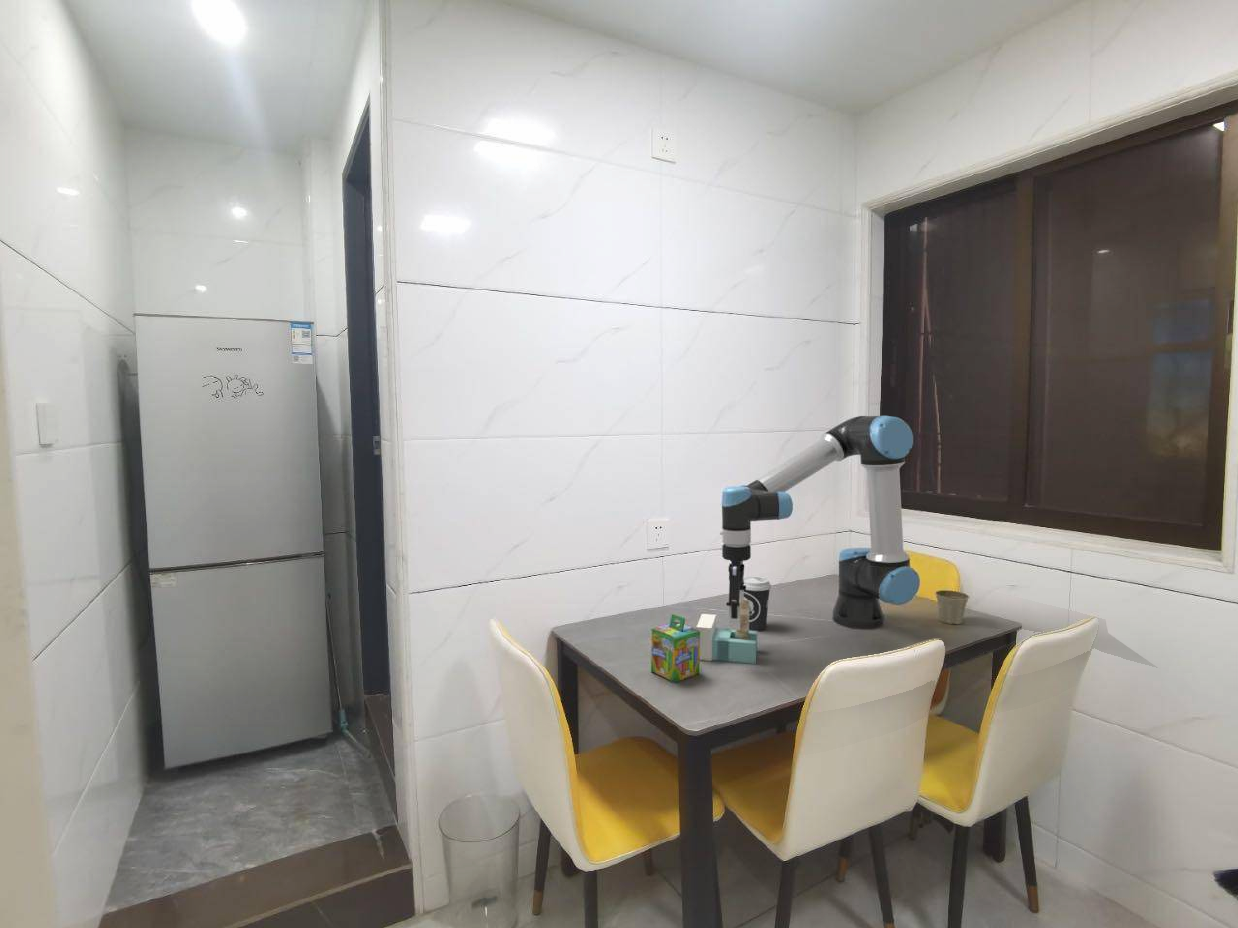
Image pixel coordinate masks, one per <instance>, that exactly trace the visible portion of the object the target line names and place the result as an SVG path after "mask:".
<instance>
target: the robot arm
mask: <svg viewBox="0 0 1238 928" xmlns="http://www.w3.org/2000/svg"><path fill="white" fill-rule="evenodd" d="M913 445H914V434H913V432H912V429H911V426H910V425H909V424H908V423H907V422H905V420H903V419H901V418H900V417H897V416H889V415H857V416H853V417H851V418H849V419H847V420H845V421H843V422H841V423H839V424H838V425H836V426H834V427H832V428H830V429H829V430H828V431H825V432H824V433H822V435H821V436H820V440H818V441H817V442H815V443H813V444H812V445H810V446H808V447H807V448H805V449H803V450H802V451H800V452H798V453H796V455H794V456H793V457H791V458H788V460H786V461H785V462H783V463H781V464H779V465H778V466H777V467H775V468H773V469H772V470H770V471H768V472H767V473H766V474H763V475H762V476H760V477H759V478H757V479H755V480H754V481H752V482H751V483H749V484H747V485H736V486H734V485H733V486H726V487H724V488H723V490H722V492H721V493H722V494H721V520H722V522H721V524H722V525H721V527H722V529H721V530H722V531H720V533H719V535H720V536H722V537H721V541H722V543H723V544H722V545H721V546H722V547H721V548H722V549H721V551H722V552H721V554H722V555H721V556H722V558H723V559H724V560H726V561H730V562H731V563H729V566H728V581H729V584H728V585H729V587H728V588H729V591H728V602H725V603H726V606H727V607H728V608H729V610H728V613H729V614H728V618H729V619H728V621H729V624H728V625H729V626H728V627H729V628H728V629H729V630H740V603H739V600H744V590H741V589H746V585H744V575H745V564H744V563H743V562H745V561H748V560H750V559H751V557H752V556H751V555H752V553H751V550H752V548H751V547H752V546H751V542H752V541H751V540H752V539H751V538H752V536H751V535H752V534H751V530H752V528H751V525H752V524H751V523H752V522H759V521H761V522H762V521H774V520H775V521H776V520H777V521H779V520H784V519H789V518H790V517H791V516H792V514H793V512H794V511H793V510H794V503H793V500H792V497H791V495H790V494H789V493H788V492H787V491H789V490H790V489H792V488H794V487H795V486H797V485H798V484H800V483H802V482H803V481H804V480H807V479H808V478H810V477H811V476H813V475H814V474H816V473H817V472H818V473H819V472H820V471H821V470H822V469H824V468H826V467H827V466H829V465H830V464H832V463H834V462H841V461H843V460H845V459H847V458H849V457H852V456H859V457H860V465H861V466H862V467H863V468H864V469H865V470H866V475H867V476H866V477H867V479H866V480H867V494H868V495H867V497H868V515H869V518H868V519H869V532H870V535H869V536H870V547H853V548H852V547H850V548H844V549H842V550H841V551H840V552H839V555H838V556H839V557H838V595H837V598H836V601H835V604H834V606H833V609H832V615H831V616H832V621H833V622H835V623H837V625H841V626H845V627H849V628H854V629H863V630H865V629H866V630H868V629H869V630H871V629H877V628H881V627H882V626H884V624H885V622H884V621H885V615H884V613H883V609H882V606H881V603H880V600H881V601H882V602H883V603H886V604H890V605H893V606H901V605H905V604H907V603H909V602H910V601H912V600H913V599H914V596H916V595H917V593H918V591H919V590H920V584H921V579H920V575H919V574H918V572H917V571H916V569H914V568H912V567H911V557H910V554H908V553H907V551H905V550H904V536H903V535H904V534H903V516H902V515H903V514H902V498H901V497H902V494H901V476H900V468H901V467H902V466H903V465H904V464H905V463H906V459H905V458H906V456H907V455H908V454H909V453H910V452H911V451H910V450H911V449H912V448H913Z"/></svg>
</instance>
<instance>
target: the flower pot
mask: <svg viewBox="0 0 1238 928" xmlns="http://www.w3.org/2000/svg"><path fill="white" fill-rule="evenodd" d="M934 594H935V596H936V600H937V606H938V616H939V620H940V622H942V623H945V624H949V625H952V624H954V625H960V624H962V623H963V620H964V616H965V615H964V614H965V610H966V606H967V603H968V601H969V599H970V595H968V594H966V593H965V592H961V591H956V590H948V589H942V590H940V589H939V590H936V591H935V592H934Z"/></svg>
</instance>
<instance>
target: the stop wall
mask: <svg viewBox="0 0 1238 928" xmlns="http://www.w3.org/2000/svg"><path fill="white" fill-rule="evenodd" d="M716 628H717V614H709V613H702V614H701V616H700V618H699V620H698V622H697V625H696V627H695V629H697V630H699V631H700V661H707V662H711V661H713V660H712V638H713V635H714V632H715V629H716Z"/></svg>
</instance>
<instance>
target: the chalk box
mask: <svg viewBox="0 0 1238 928" xmlns="http://www.w3.org/2000/svg"><path fill="white" fill-rule="evenodd" d="M669 621H670V622H669V623H667V624H663V625H660V626H657V627H654V628H651V657H650V659H651V661H650V664H651V667H650V672H652V673H654V674H657V675H658V676H660V677H662V678H664V679H666V680H669V681H670V682H673V683H674V684H676V683H678V682H681V681H683V680H686V679H688V678H691V677H693V676H696V675H699V674H700V665H701V664H700V662H701V660H700V631H699V630H697V629H696V627H692V626H690V625H687V624H685V622H686V618H685V617H683V616H681V615H677V614H674V613H673V614H671V617H670V620H669Z"/></svg>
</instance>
